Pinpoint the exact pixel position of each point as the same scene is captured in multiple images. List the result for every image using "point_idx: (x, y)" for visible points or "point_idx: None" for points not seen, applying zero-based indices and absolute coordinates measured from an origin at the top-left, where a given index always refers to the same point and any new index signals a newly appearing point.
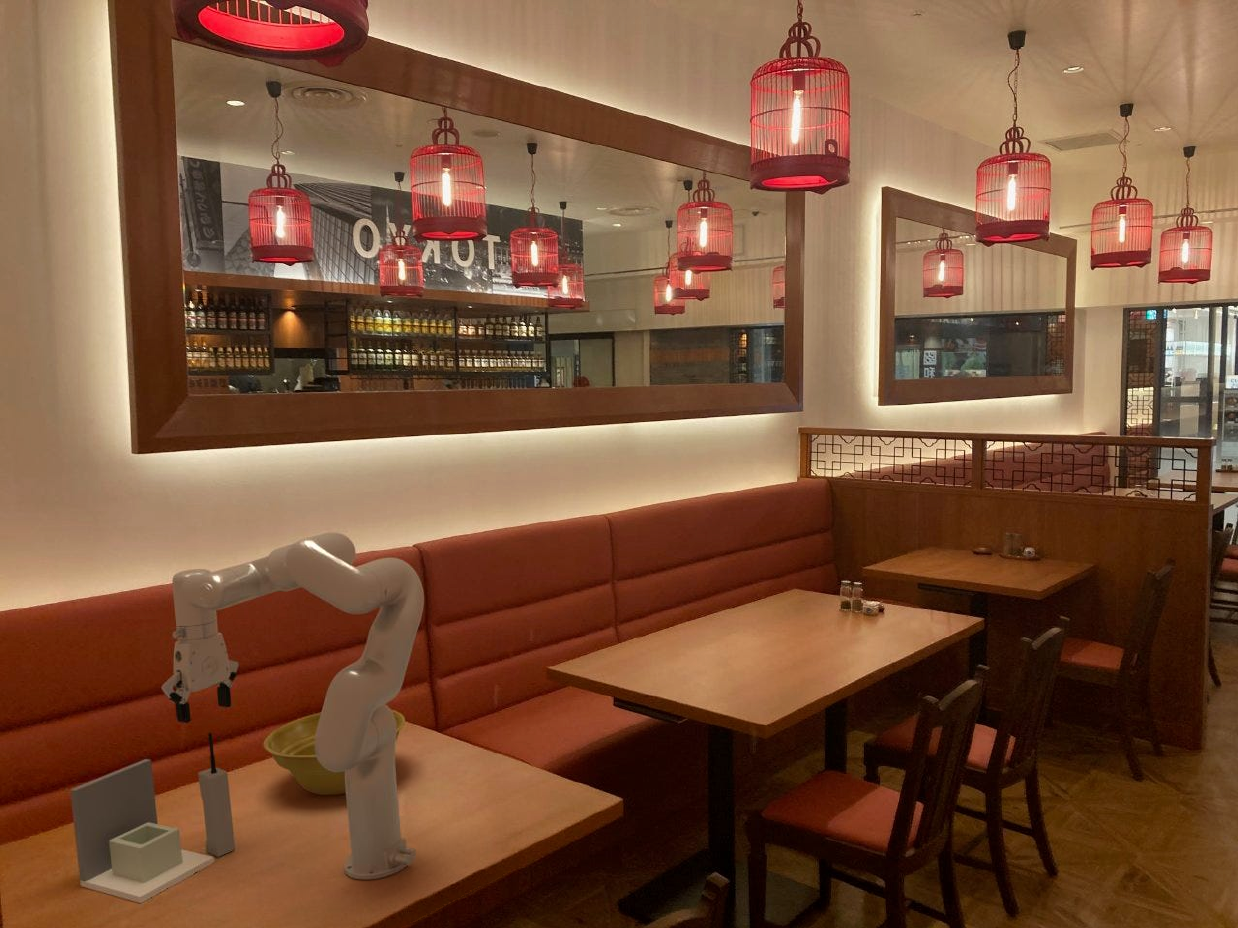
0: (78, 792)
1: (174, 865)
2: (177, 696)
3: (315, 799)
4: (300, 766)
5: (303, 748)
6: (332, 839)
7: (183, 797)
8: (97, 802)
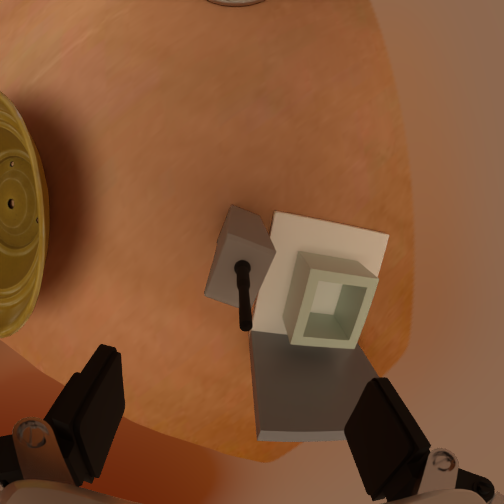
0: None
1: (312, 253)
2: (465, 486)
3: (57, 201)
4: (46, 200)
5: None
6: (171, 68)
7: None
8: None
